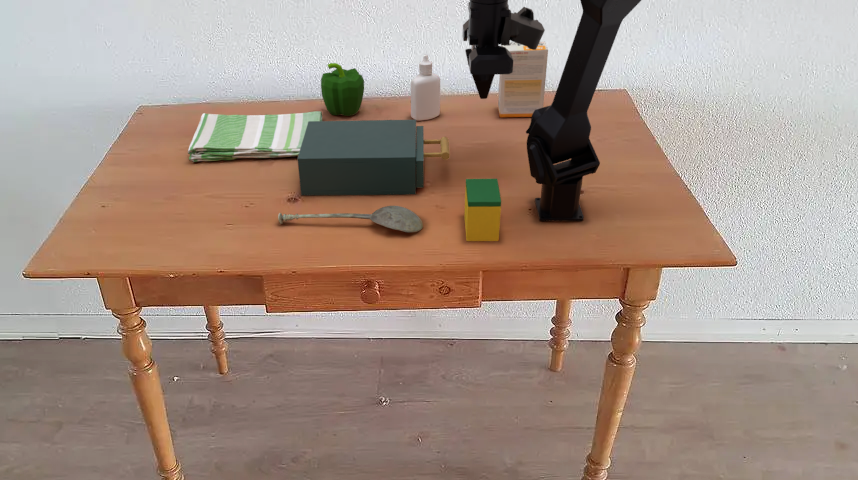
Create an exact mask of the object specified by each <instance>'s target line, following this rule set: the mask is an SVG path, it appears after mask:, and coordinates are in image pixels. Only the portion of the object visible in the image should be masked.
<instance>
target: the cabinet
mask: <svg viewBox="0 0 858 480" xmlns="http://www.w3.org/2000/svg"><path fill="white" fill-rule="evenodd" d="M416 126H417V120H415V119H372V120H371V119H369V120H366V119H365V120H363V119H361V120H322V121H308V125H307V128H306V131H305V135H304V138H303V142H302V145H301V148H300V152H299V155H298V156H297V168H298V177H299V187H300V196H385V195H387V196H388V195H389V196H391V195H392V196H393V195H394V196H397V195H399V196H400V195H401V196H402V195H404V196H405V195H407V196H408V195H416V194H417V188H416Z"/></svg>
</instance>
